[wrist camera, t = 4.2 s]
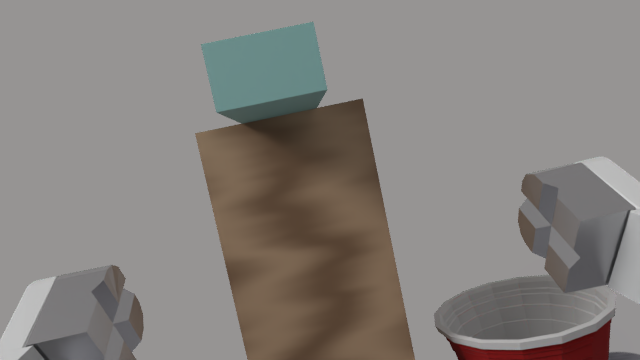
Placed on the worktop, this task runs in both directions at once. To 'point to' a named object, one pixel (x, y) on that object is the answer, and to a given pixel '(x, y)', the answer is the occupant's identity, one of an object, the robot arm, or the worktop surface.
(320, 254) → the stand
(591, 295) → the plastic cup
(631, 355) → the worktop surface
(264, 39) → the block
